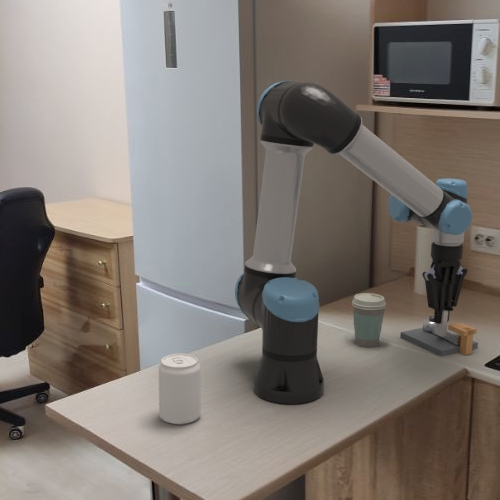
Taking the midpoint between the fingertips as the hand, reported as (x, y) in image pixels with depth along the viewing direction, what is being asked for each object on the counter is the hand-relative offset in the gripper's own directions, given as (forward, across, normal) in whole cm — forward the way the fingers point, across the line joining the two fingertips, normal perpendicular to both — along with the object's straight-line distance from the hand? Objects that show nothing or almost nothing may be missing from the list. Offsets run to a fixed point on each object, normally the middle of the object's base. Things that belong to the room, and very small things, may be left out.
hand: (440, 334), depth 192 cm
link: (+1, -2, -1) cm, 3 cm away
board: (+3, -1, -1) cm, 3 cm away
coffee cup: (+3, +15, -10) cm, 18 cm away
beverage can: (+4, +74, +6) cm, 74 cm away
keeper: (+3, -2, +5) cm, 6 cm away
